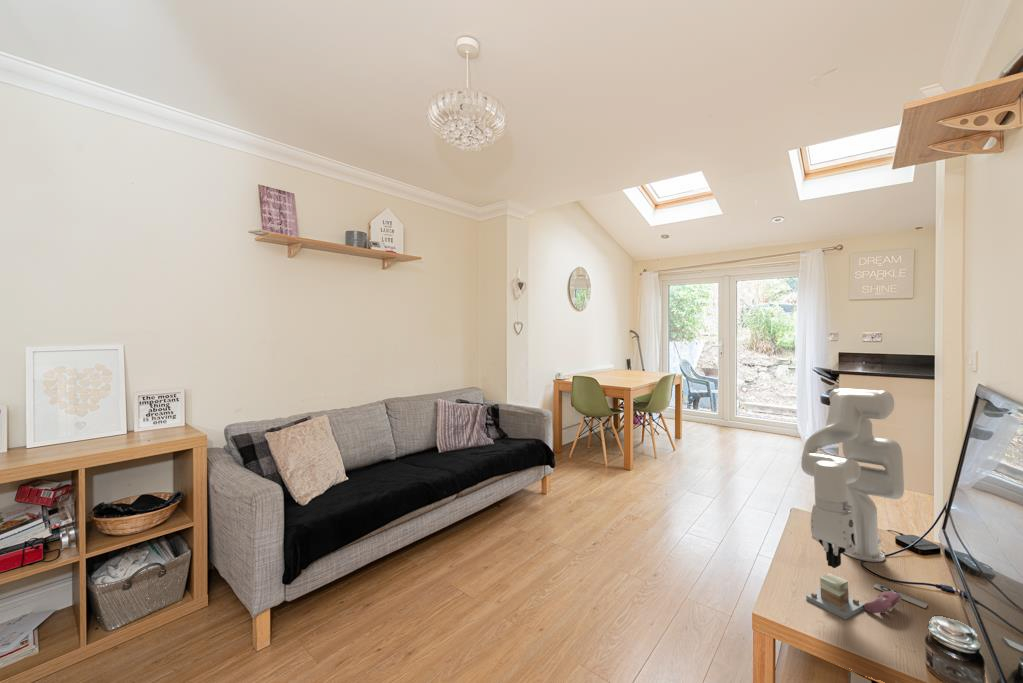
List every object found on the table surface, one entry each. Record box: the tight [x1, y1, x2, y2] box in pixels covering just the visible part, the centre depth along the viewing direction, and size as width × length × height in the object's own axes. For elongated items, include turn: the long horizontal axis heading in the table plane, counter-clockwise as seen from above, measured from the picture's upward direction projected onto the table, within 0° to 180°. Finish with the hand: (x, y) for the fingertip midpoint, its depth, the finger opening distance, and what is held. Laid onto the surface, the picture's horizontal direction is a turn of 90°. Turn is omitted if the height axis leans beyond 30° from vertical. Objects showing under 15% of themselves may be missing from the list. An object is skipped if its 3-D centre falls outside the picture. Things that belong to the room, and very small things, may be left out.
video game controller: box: [863, 589, 903, 615], centre depth 114 cm, size 10×5×7 cm, turn 116°
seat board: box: [805, 587, 865, 620], centre depth 118 cm, size 10×10×2 cm
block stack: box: [819, 572, 850, 607], centre depth 118 cm, size 5×5×6 cm
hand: (833, 565), depth 119 cm, fingers closed
